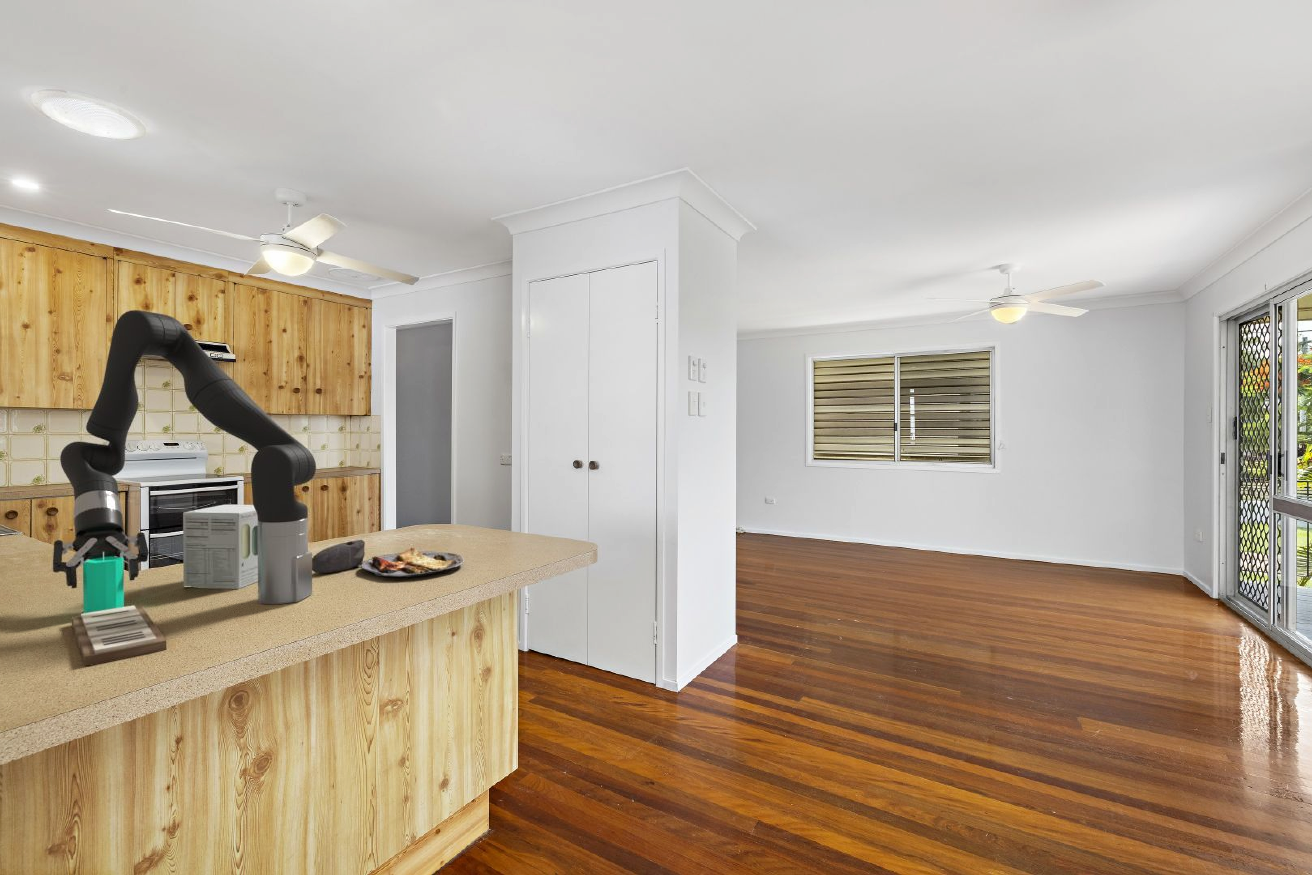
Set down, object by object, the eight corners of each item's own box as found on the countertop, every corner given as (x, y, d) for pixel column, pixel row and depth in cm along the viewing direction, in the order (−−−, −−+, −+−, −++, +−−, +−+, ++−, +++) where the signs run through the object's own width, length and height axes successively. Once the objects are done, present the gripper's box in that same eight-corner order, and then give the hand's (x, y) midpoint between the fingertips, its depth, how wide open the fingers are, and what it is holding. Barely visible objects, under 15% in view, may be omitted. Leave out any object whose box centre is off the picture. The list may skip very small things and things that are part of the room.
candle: (99, 617, 118) (98, 556, 118) (75, 615, 119) (74, 554, 119) (131, 608, 124) (131, 549, 124) (108, 606, 125) (107, 548, 125)
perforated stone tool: (316, 578, 149) (316, 550, 149) (304, 575, 151) (304, 547, 151) (372, 566, 162) (372, 540, 161) (360, 563, 164) (360, 537, 164)
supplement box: (239, 589, 138) (238, 512, 138) (182, 588, 138) (181, 512, 138) (276, 574, 151) (276, 504, 151) (224, 573, 152) (224, 503, 151)
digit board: (71, 625, 114) (71, 614, 114) (141, 613, 121) (141, 602, 121) (85, 666, 95) (85, 653, 95) (166, 649, 103) (166, 637, 102)
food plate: (343, 569, 157) (344, 555, 157) (423, 554, 176) (424, 542, 176) (400, 588, 143) (400, 573, 142) (480, 570, 162) (480, 557, 162)
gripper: (51, 509, 121) (53, 577, 113) (144, 503, 131) (152, 565, 124) (50, 532, 125) (53, 599, 117) (141, 524, 135) (149, 586, 128)
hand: (104, 582), depth 120 cm, fingers open, 8 cm apart
